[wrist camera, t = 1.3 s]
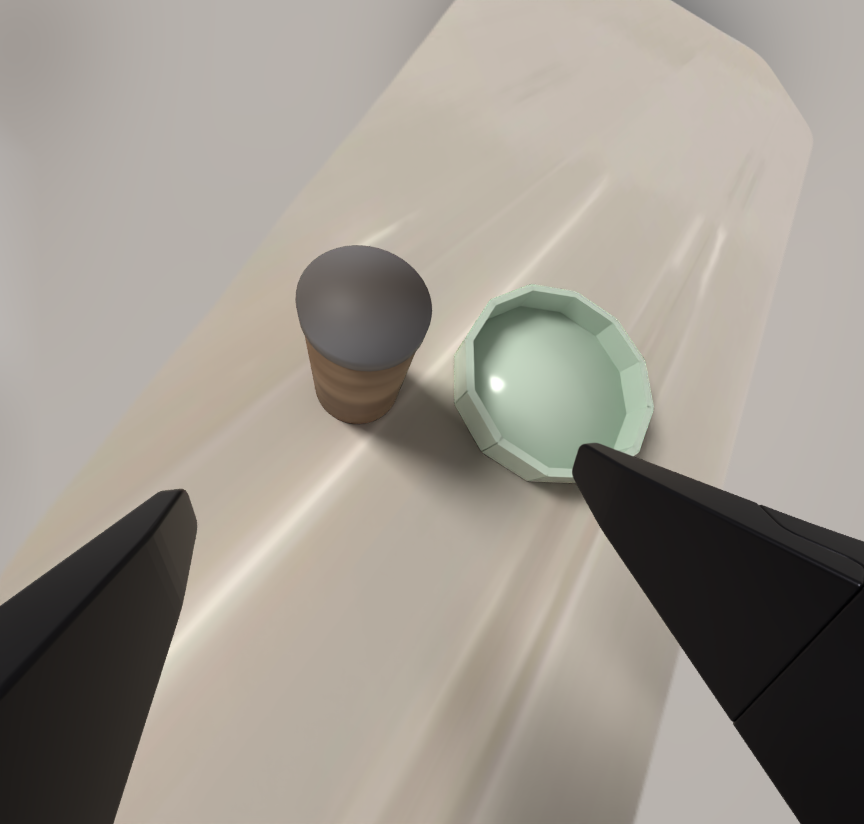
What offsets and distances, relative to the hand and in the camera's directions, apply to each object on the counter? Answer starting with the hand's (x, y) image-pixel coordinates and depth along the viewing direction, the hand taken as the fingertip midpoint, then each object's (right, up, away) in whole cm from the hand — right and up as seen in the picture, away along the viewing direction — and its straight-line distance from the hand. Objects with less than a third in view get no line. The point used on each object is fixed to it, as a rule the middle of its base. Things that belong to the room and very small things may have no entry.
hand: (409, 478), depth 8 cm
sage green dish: (+8, +3, +17) cm, 19 cm away
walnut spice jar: (-4, +3, +14) cm, 15 cm away
